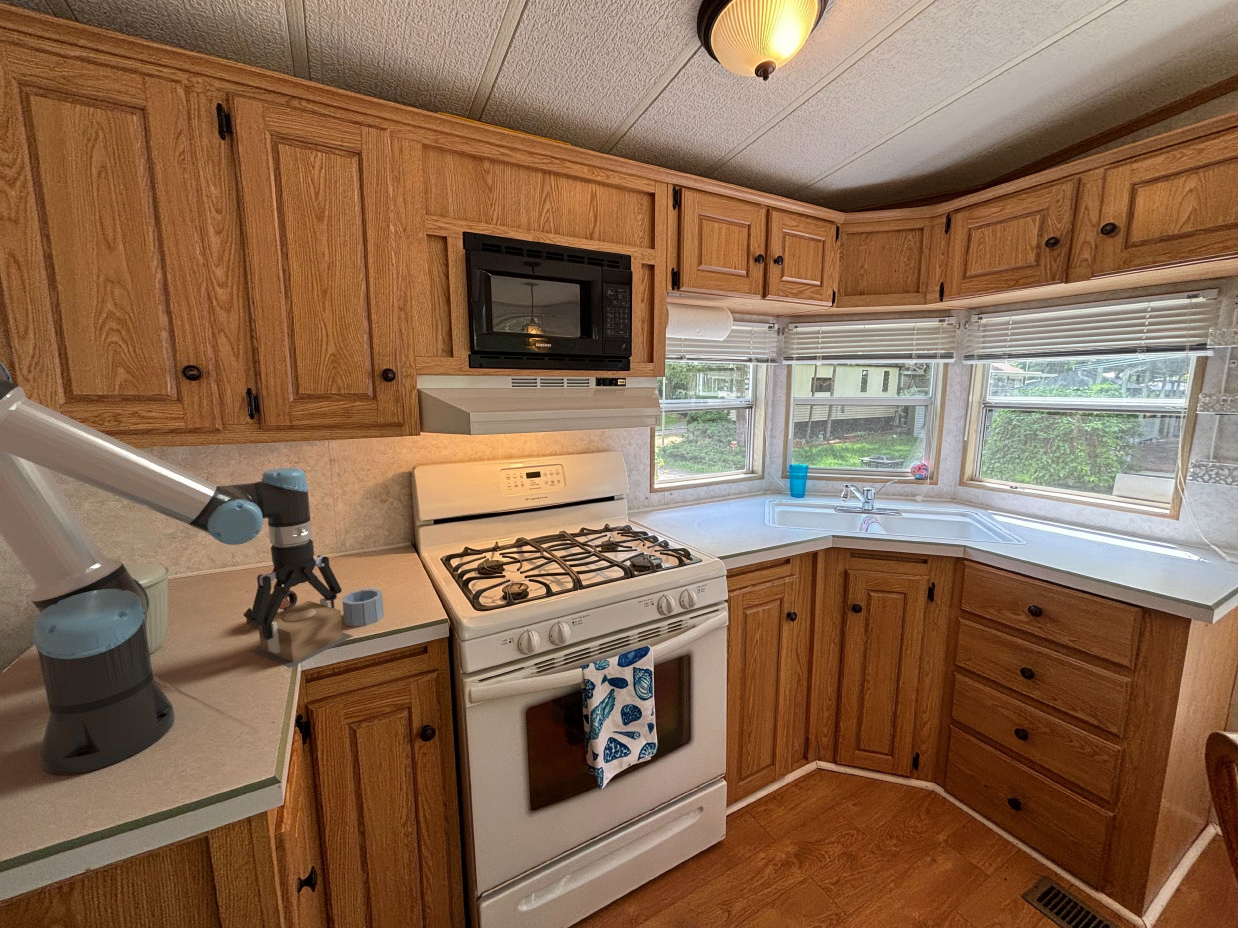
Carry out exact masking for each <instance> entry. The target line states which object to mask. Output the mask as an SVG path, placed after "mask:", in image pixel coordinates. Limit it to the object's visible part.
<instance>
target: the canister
mask: <svg viewBox="0 0 1238 928" xmlns="http://www.w3.org/2000/svg"><path fill="white" fill-rule="evenodd" d="M111 558H112V559H118V558H115V557H111ZM118 560H120V559H118ZM123 565H124V566H125V568H126V569H127V571H128V572H129V574H130V576H131V577H133V578H134V579H135V580H137V581H138V582H139V583H140V584H141V585H142V586H143V587H144V589H145V590H146V592H147V595H148V601H149V607H148V612H147V640H148V647H149V653H150V655H151V654H152V653H154V652H156V651H157V650H158V649H160V648H161V647H162V646H163V644H164V642H165V640H166V639H167V636H168V621H169V619H168V617H169V612H168V611H169V601H168V600H169V598H168V597H169V591H168V590H169V588H168V587H169V582H168V581H169V579H168V577H169V576H170V575H171V573H172V569H171V568H170V567H169V566H166V565H162V564H158V563H154V562H153V563H152V562H131V563H123Z"/></svg>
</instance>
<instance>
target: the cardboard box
mask: <svg viewBox="0 0 1238 928" xmlns="http://www.w3.org/2000/svg"><path fill="white" fill-rule="evenodd" d="M334 608H335V607H334ZM334 608H331V607H328V606H324V605H321V604H320V603H318V602H314V601H311V600H306V601H304V602H301V603H299V604H296V605H295V606H294V607H291V608H289V609H286V610H281V611H278V612H277V614H276V616H275V618H274V620H273V621H274V622H276V623H277V627H278V637H279V645H280V652H279V653H277V654H276V653H274V652H271V651H269V649H268V641H267V639H264V638H263V635H262V627H261V626H257V628H258V634H259V641H260V643H259V644H260V646H261V649H262V650H264V651H267V652H269V653H272V654H274V655H277V656H279V657H282V658H284V659H287V660H289V661H292V662H294V661H296V660H298V659H300V658H302V657H305V656H307V655H309V654H311V653H313V652H315V651H317V650H319V649H321V648H323V647H325V646H327V645H329V644H331V643H333V642H335V641H337V640H339V639H341V638H343V633H344V632H343V624H342V614H341V613H342V612H341V610H340V609H338V608H335V609H334ZM342 632H343V633H342Z"/></svg>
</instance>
